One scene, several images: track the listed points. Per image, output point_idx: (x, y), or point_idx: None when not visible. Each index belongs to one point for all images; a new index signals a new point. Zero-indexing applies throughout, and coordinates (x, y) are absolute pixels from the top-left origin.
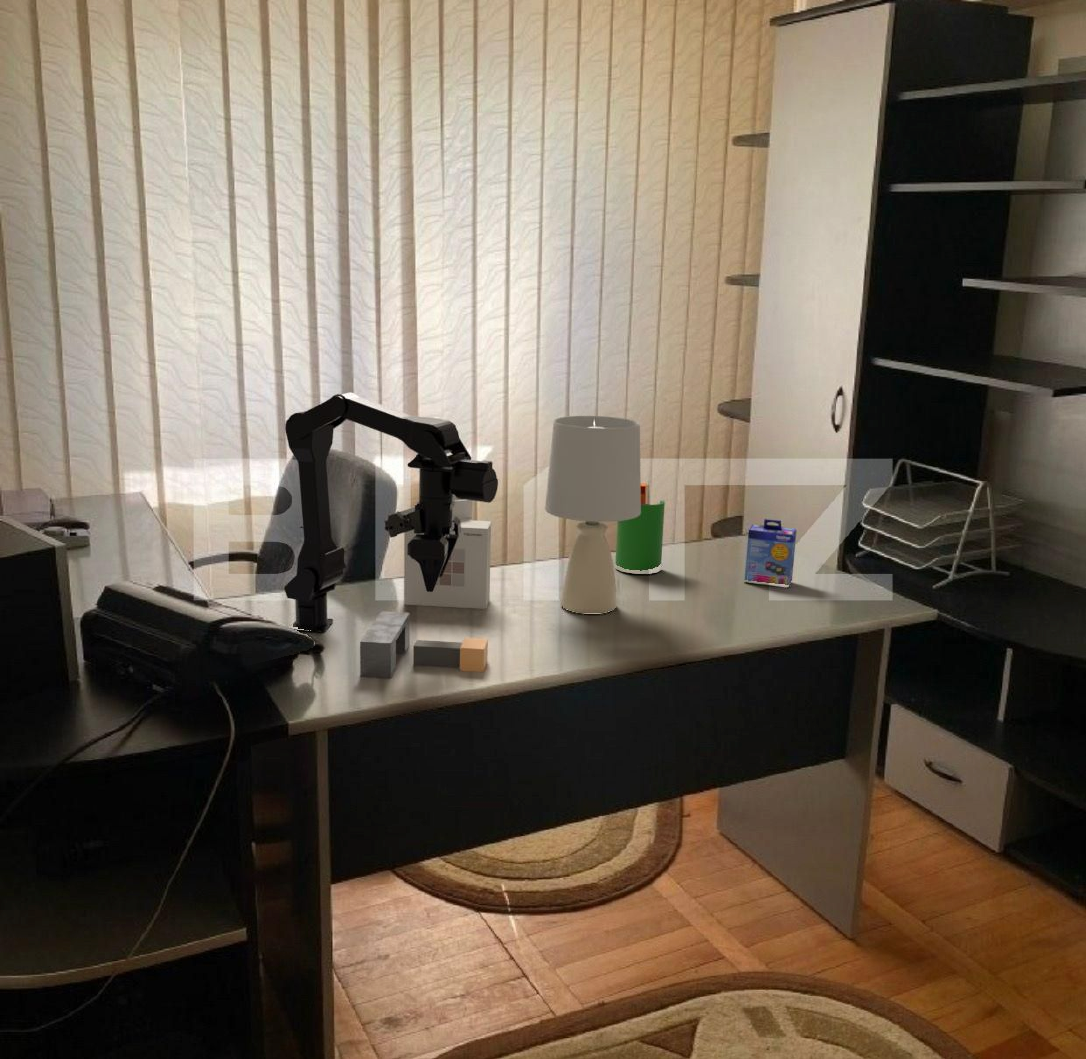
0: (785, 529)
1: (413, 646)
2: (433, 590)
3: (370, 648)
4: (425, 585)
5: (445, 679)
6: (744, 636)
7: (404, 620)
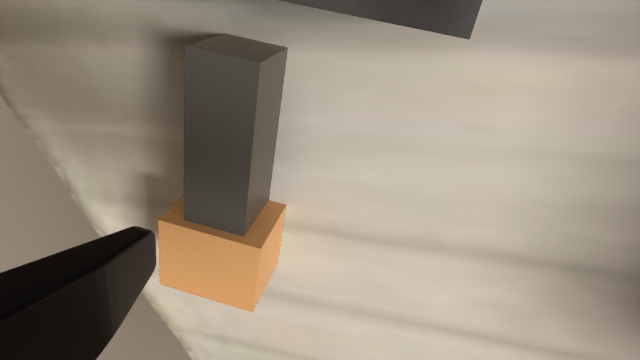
0: None
1: (187, 45)
2: (148, 274)
3: None
4: (77, 247)
5: (123, 134)
6: None
7: (315, 4)
